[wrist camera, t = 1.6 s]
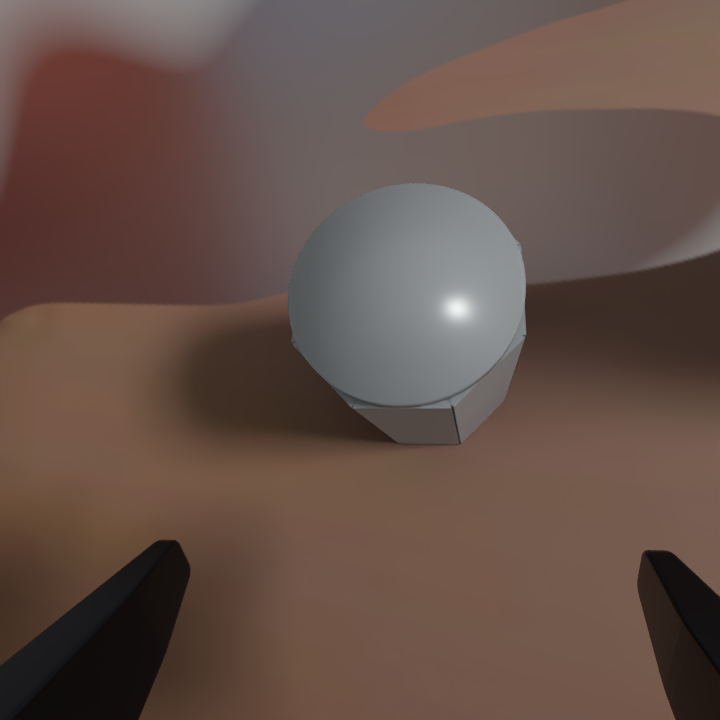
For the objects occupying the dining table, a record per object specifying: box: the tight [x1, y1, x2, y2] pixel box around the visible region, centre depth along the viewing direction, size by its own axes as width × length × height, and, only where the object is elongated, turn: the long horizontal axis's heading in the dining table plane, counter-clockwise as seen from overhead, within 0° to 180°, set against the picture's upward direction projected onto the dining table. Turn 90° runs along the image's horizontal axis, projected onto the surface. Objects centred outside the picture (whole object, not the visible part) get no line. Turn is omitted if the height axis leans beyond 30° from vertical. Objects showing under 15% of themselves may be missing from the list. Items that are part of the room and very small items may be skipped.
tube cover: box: [288, 183, 526, 445], centre depth 19 cm, size 7×7×10 cm
